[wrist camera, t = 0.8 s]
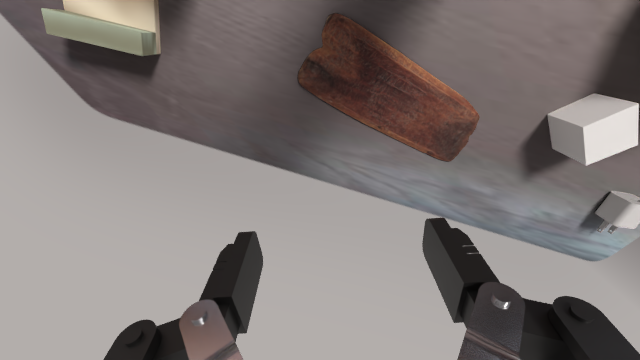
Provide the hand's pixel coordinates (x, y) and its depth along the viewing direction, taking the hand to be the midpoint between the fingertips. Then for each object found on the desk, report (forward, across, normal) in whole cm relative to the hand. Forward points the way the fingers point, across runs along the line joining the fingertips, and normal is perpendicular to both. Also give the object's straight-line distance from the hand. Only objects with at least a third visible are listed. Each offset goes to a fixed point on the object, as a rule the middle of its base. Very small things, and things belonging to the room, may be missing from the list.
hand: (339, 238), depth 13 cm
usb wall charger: (+28, -46, +23) cm, 59 cm away
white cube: (+28, -35, +7) cm, 45 cm away
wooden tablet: (+29, -9, +1) cm, 30 cm away
